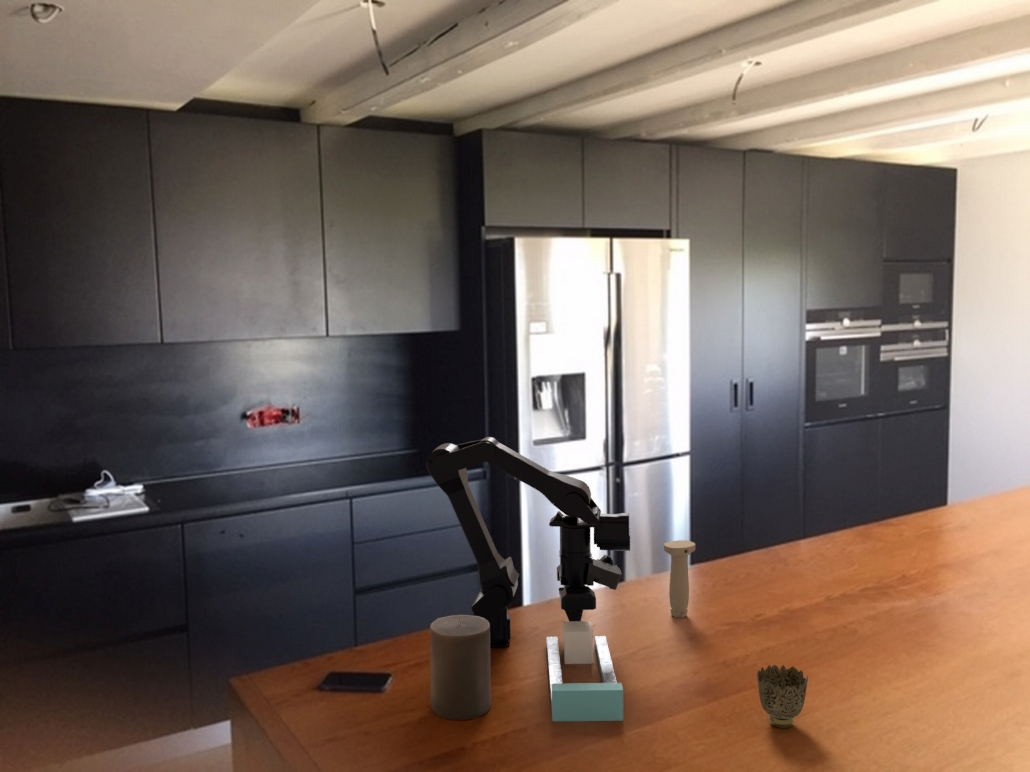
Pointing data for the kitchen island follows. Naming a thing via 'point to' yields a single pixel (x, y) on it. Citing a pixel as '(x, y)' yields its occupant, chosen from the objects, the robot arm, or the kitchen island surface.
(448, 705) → the pillar candle
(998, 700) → the kitchen island surface
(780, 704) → the cup
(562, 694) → the track
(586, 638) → the block
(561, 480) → the robot arm
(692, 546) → the handle
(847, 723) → the kitchen island surface
